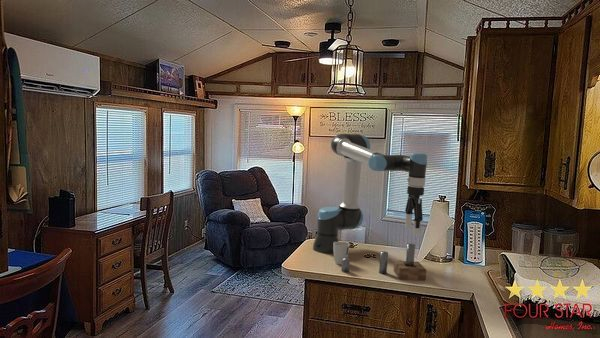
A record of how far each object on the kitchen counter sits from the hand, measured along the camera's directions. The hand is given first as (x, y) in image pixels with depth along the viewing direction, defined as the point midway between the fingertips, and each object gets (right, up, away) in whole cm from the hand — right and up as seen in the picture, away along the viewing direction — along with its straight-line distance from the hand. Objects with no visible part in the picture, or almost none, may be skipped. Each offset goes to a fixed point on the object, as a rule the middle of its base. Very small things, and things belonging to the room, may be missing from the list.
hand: (411, 231), depth 203 cm
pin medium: (-13, -20, +3) cm, 24 cm away
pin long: (-1, -21, +2) cm, 21 cm away
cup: (-32, -18, +15) cm, 40 cm away
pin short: (-31, -19, +3) cm, 37 cm away
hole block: (-1, -21, +2) cm, 21 cm away
